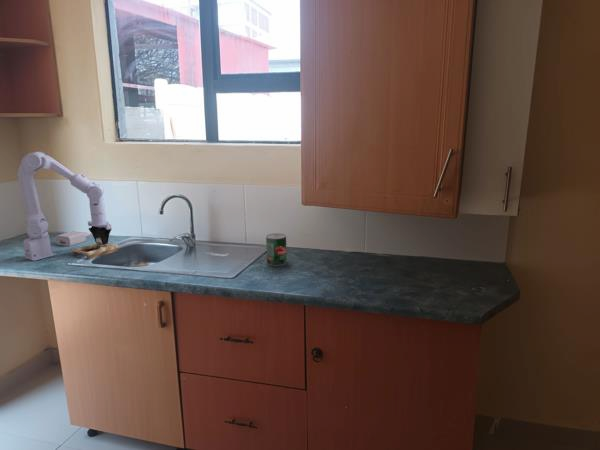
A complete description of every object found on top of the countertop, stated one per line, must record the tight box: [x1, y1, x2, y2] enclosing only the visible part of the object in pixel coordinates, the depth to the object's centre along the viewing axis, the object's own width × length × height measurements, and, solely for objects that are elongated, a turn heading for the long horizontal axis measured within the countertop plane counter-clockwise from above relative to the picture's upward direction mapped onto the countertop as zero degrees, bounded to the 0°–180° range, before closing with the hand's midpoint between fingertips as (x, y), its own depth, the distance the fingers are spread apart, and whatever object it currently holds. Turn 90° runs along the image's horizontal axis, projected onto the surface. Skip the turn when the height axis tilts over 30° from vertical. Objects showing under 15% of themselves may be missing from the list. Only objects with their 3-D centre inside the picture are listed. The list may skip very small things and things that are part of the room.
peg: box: [95, 237, 105, 250], centre depth 194 cm, size 5×5×6 cm
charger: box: [54, 230, 92, 247], centre depth 212 cm, size 5×9×15 cm
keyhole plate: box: [71, 242, 120, 260], centre depth 192 cm, size 14×12×2 cm
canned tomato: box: [265, 232, 288, 267], centre depth 173 cm, size 8×8×11 cm
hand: (101, 243), depth 194 cm, fingers closed on peg, 4 cm apart
